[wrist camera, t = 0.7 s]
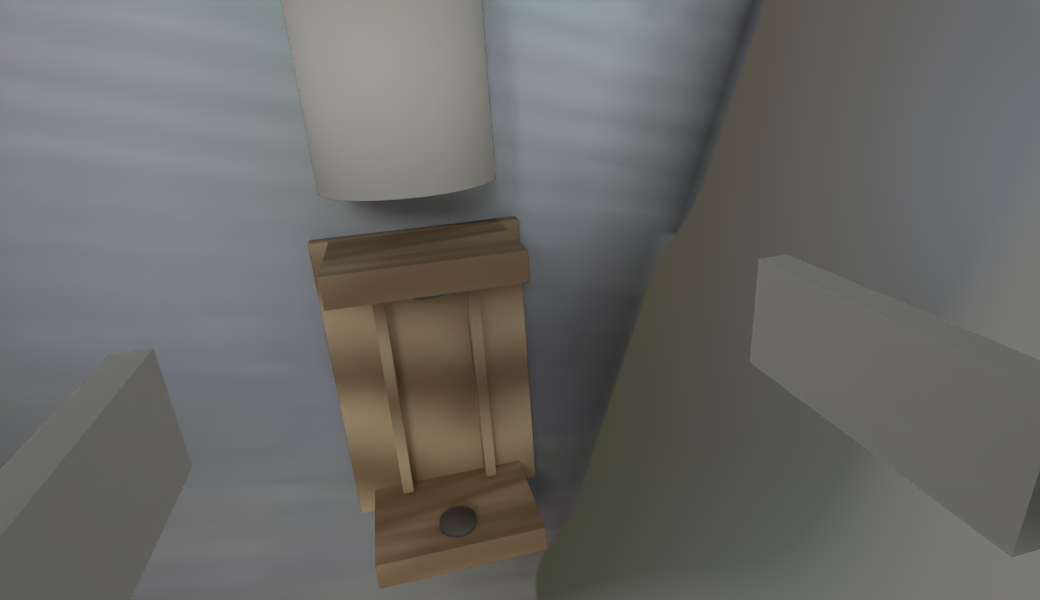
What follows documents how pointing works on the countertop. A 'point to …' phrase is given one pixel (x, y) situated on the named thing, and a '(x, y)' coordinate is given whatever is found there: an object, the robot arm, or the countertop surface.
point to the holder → (434, 391)
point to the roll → (392, 96)
